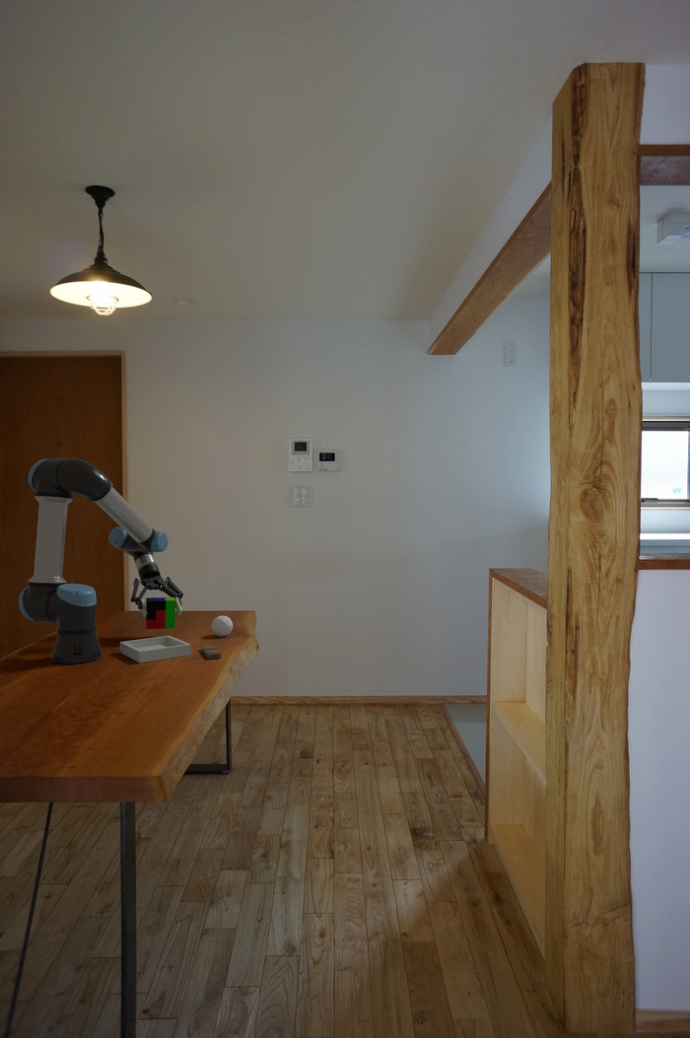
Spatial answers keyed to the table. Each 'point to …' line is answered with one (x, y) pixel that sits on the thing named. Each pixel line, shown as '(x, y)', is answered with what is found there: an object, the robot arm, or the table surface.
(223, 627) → the geometric ball
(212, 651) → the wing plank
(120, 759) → the table surface
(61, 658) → the robot arm
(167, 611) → the puzzle toy
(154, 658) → the white square tray
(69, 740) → the table surface
